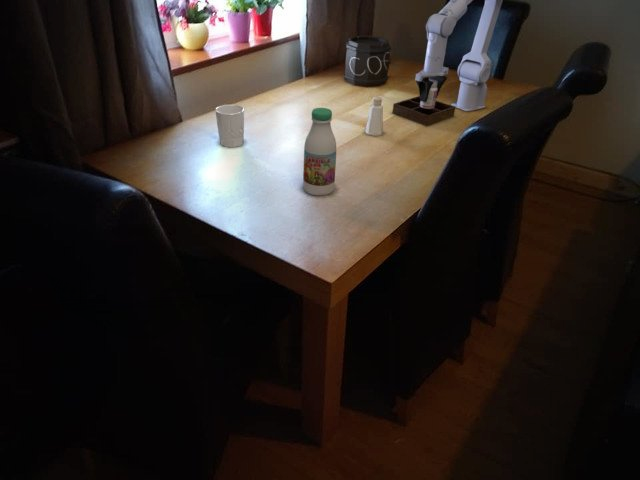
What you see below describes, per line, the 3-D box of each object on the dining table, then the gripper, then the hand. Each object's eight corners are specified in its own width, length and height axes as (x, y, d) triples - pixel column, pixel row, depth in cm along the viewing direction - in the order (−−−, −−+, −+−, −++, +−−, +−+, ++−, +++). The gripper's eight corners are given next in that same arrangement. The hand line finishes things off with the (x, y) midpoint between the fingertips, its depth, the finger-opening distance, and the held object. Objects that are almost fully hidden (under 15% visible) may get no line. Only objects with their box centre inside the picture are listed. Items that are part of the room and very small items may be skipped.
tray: (419, 104, 181) (420, 95, 179) (453, 116, 172) (455, 106, 170) (392, 113, 172) (393, 103, 170) (427, 126, 164) (428, 116, 162)
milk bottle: (302, 181, 128) (303, 104, 117) (332, 181, 129) (337, 104, 117) (304, 196, 122) (305, 116, 110) (335, 196, 122) (340, 116, 111)
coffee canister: (391, 89, 195) (396, 46, 186) (344, 87, 195) (347, 44, 186) (386, 75, 210) (391, 35, 201) (343, 73, 210) (346, 33, 201)
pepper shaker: (372, 128, 160) (376, 93, 154) (386, 133, 157) (390, 98, 151) (361, 132, 157) (364, 97, 151) (374, 137, 154) (378, 102, 148)
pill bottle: (434, 109, 163) (438, 83, 159) (419, 108, 164) (423, 82, 159) (434, 105, 167) (438, 79, 162) (420, 103, 168) (424, 78, 163)
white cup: (250, 140, 149) (248, 106, 143) (237, 150, 142) (236, 115, 137) (226, 135, 151) (223, 102, 145) (213, 145, 144) (210, 111, 139)
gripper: (431, 62, 150) (424, 107, 158) (459, 55, 158) (451, 98, 166) (412, 57, 154) (406, 101, 162) (440, 51, 163) (434, 93, 170)
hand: (428, 99), depth 164 cm, fingers closed on pill bottle, 5 cm apart
